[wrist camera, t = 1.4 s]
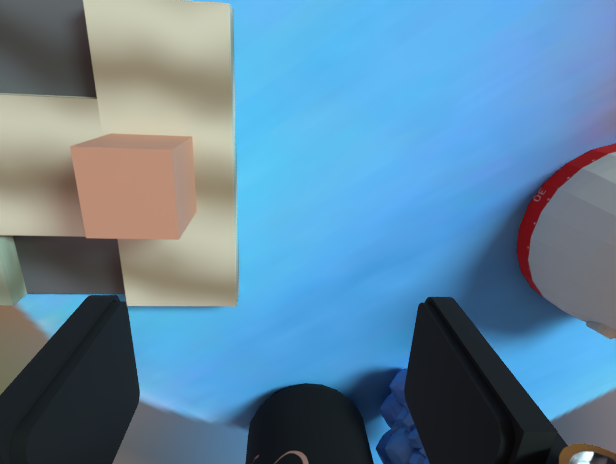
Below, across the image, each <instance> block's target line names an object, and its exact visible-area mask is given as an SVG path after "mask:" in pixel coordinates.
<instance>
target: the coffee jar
mask: <svg viewBox="0 0 616 464" xmlns="http://www.w3.org/2000/svg"><path fill="white" fill-rule="evenodd" d="M246 464H374V463H373V459H372V454H371V450H370V446H369V442H368V438H367V434H366V430H365V425H364V421H363V417H362V415H361V414H360V412H359V411H358V409H357V407H356V406H355V404H354V403H353V402H352V401H350V400H349V399H348V398H347V397H345V396H344V395H343V394H341V393H340V392H338V391H337V390H335V389H332V388H330V387H327V386H324V385H319V384H307V383H306V384H300V385H294V386H289V387H287V388H285V389H283V390H280V391H278V392H276V393H275V394H273V395H272V396H271V397H270V398H269V399H267V400H266V401H265V402H264V403H263V404H262V405H261V406H260V407H259V409H258V410H257V412H256V414H255V415H254V417H253V419H252V420H251V422H250V427H249V434H248V443H247V454H246Z"/></svg>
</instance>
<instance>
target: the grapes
mask: <svg viewBox="0 0 616 464" xmlns="http://www.w3.org/2000/svg"><path fill="white" fill-rule="evenodd" d="M407 369H408V368H407ZM407 369H403V370H401V371H400V372H399V373H397V374H396V376H395V377H394V379H393V380H392V382H391V384H390V388H391V391H392V393H391V394H390V395H389V396H387V397H386V399H385V400H384V402H383V403H382V405H381V407H380V411H381V414H382V416H383V417H384V419H385V421H386V423H387V424H388V426H389V427H390V428H391V429H390V430H389V431H388V432H386V433H385V434H384V435H383V436H382V438H381V439H380V441H379V443H378V445H377V447H376V450H377V452H378V455H379V457H380V458H381V460H382V462H383V464H430V463H429V460H428V458H427V455H426V453H425V450H424V447H423V445H422V442H421V440H420V437H419V435H418V432H417V429H416V427H415V424H414V422H413V419H412V416H411V414H410V411H409V409H408V406H407V403H406V400H405V394H404V387H405V381H406V375H407Z"/></svg>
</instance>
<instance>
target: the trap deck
mask: <svg viewBox="0 0 616 464" xmlns="http://www.w3.org/2000/svg"><path fill="white" fill-rule="evenodd" d="M110 133H114V134H141V135H168V136H192V141H193V157H194V173H195V189H196V205H197V212H196V214H195V215H194V217H193V218H192V220H191V221H190V223H189V225H188V226H187V228H186V229H185V231H184V233H183V234H182V236H181V237H180V239H179V240H164V239H105V238H86V235H85V229H84V224H83V218H82V212H81V207H80V201H79V195H78V189H77V184H76V178H75V172H74V167H73V161H72V155H71V150H70V146H73V145H76V144H79V143H82V142H85V141H88V140H91V139H95V138H98V137H101V136H104V135H107V134H110ZM27 293H44V294H125V295H126V302H127V306H237V301H238V296H239V266H238V220H237V174H236V129H235V83H234V38H233V9H232V7H231V6H230V4H229V3H217V2H201V1H185V0H0V305H14V304H15V303H16V302H18V301H19V300H20V299H21V298H22V297H24V296H25V295H26V294H27Z"/></svg>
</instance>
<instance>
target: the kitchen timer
mask: <svg viewBox="0 0 616 464" xmlns="http://www.w3.org/2000/svg"><path fill="white" fill-rule="evenodd" d="M516 252H517V256H518V261H519V265H520V270H521V272H522V274H523V275H524V277H525V278H526V280H527V281H528V283H529V284H530V286H531V287H532V288H533V289H534V290H535V291H537V292H538V293H539V294H540V295H541V296H543V297H544V298H545V299H547V300H548V301H549V302H551V303H552V304H554V305H555V306H557V307H558V308H559V309H561V310H562V311H564V312H566V313H567V314H569V315H571V316H573V317H575V318H578V319H580V320H582V321H585V322H587V323H586V325H587V326H588V327H590V328H591V329H593V330H595V331H597V332H598V333H600V334H602V335H604V336H605V337H607V338H609V339H613V338H616V144H612V145H608V146H604V147H601V148H597V149H593V150H590V151H589V152H587V153H585V154H583V155H581V156H579V157H578V158H576V159H574V160H572V161H570V162H568V163H567V164H565V165H564V166H563V167H562V168H561V169H560V170H558V171H557V172H556V173H555V174H554V175H553V176H552V177H551V178H549V179H548V180H547V181H546V182H545V183H544V184H543V186H542V187H541V188H540V190H539V191H538V193H537V194H536V195H535V197H534V198H533V200H532V201H531V202H530V204H529V205H528V207H527V210H526V212H525V215H524V217H523V220H522V222H521V225H520V227H519V232H518V242H517V251H516Z"/></svg>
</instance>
